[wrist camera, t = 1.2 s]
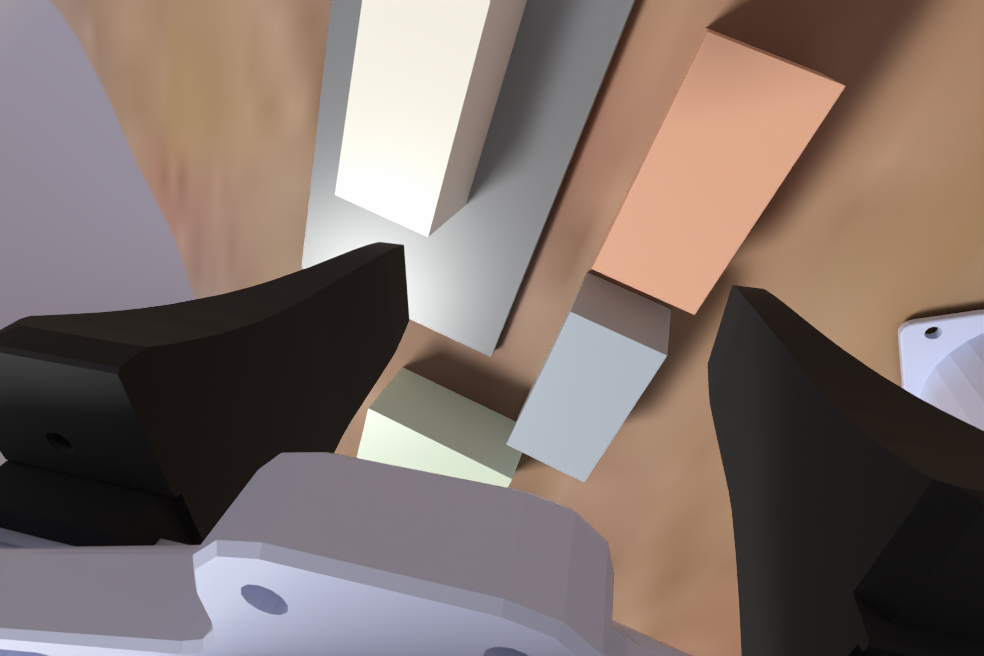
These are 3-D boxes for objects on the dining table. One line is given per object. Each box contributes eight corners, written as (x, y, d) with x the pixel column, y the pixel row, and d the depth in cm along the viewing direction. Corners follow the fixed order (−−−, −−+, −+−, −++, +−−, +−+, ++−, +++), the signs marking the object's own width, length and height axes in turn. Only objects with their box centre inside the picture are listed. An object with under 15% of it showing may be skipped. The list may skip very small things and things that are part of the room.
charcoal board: (381, -352, 16) (371, -364, 15) (730, -235, 15) (732, -243, 14) (308, 263, 29) (301, 267, 28) (494, 350, 27) (490, 357, 27)
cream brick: (425, -40, 19) (369, -50, 16) (527, 0, 19) (490, -2, 15) (384, 169, 24) (334, 195, 20) (465, 205, 23) (428, 237, 20)
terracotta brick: (705, 27, 18) (707, 31, 15) (818, 71, 18) (846, 85, 15) (606, 231, 23) (591, 269, 19) (694, 270, 22) (694, 315, 19)
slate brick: (587, 270, 24) (570, 311, 21) (671, 307, 24) (666, 355, 20) (528, 394, 28) (506, 444, 25) (597, 427, 28) (584, 482, 25)
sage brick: (390, 413, 33) (356, 458, 29) (404, 365, 30) (368, 408, 27) (509, 471, 32) (488, 524, 29) (532, 427, 30) (512, 479, 26)
